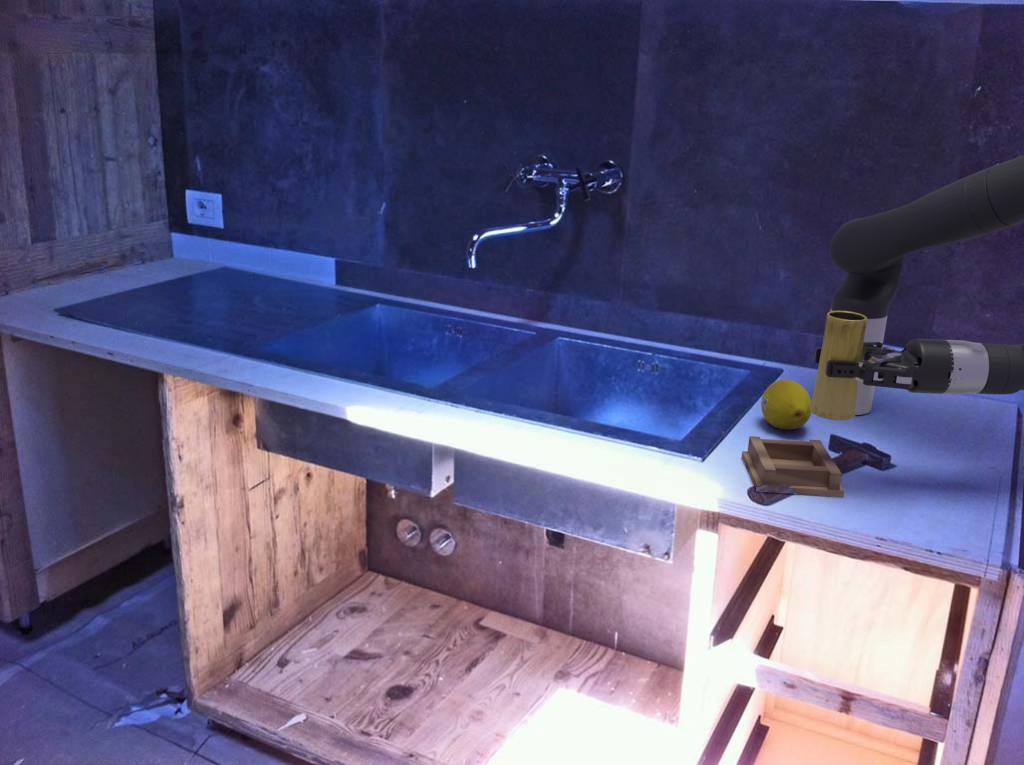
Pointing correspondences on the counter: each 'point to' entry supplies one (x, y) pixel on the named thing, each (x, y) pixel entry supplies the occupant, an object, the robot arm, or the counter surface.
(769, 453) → the socket block
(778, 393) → the lemon
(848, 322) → the vase
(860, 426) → the counter surface
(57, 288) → the counter surface
